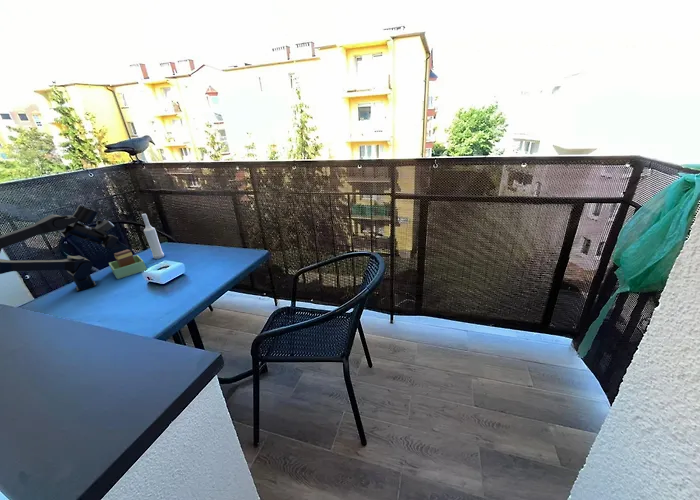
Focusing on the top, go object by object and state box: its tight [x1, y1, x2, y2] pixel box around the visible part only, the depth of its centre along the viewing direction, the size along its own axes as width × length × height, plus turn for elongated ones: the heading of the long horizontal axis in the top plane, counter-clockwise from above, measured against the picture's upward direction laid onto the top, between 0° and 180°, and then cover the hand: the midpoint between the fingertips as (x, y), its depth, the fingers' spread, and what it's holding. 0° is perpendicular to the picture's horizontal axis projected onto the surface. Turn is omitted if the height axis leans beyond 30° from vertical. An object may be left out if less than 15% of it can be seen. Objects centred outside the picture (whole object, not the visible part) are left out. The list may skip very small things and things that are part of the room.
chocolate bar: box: [113, 248, 135, 268], centre depth 136 cm, size 6×3×10 cm, turn 148°
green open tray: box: [108, 254, 147, 280], centre depth 137 cm, size 12×12×5 cm
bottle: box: [141, 213, 165, 260], centre depth 147 cm, size 5×5×25 cm
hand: (123, 246), depth 134 cm, fingers open, 9 cm apart
